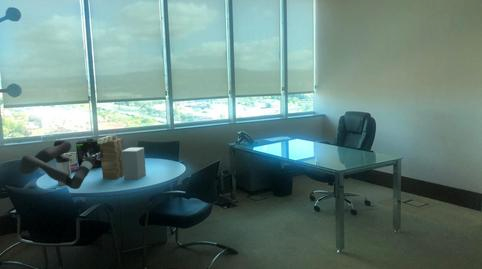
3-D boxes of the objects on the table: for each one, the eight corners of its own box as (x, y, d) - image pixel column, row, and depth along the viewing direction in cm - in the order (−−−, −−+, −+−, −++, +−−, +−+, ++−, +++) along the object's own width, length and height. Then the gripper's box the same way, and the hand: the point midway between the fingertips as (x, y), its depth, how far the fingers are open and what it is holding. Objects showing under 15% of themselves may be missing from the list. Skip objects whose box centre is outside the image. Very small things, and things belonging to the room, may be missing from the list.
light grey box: (138, 179, 295) (136, 150, 292) (124, 179, 297) (121, 150, 294) (145, 174, 309) (143, 147, 306) (132, 174, 311) (129, 147, 308)
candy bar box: (76, 169, 336) (74, 151, 333) (78, 170, 332) (76, 152, 329) (63, 172, 329) (61, 153, 326) (64, 173, 325) (62, 154, 322)
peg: (102, 143, 285) (102, 139, 284) (96, 143, 286) (96, 139, 285) (117, 139, 306) (116, 134, 306) (111, 139, 307) (111, 134, 307)
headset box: (78, 169, 338) (75, 140, 334) (81, 166, 350) (78, 138, 346) (104, 167, 342) (102, 138, 339) (106, 164, 354) (104, 136, 350)
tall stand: (116, 179, 298) (113, 141, 294) (102, 179, 301) (99, 141, 296) (125, 174, 312) (122, 138, 308) (111, 174, 314) (108, 138, 310)
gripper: (94, 161, 265) (104, 146, 278) (75, 161, 268) (86, 146, 280) (98, 169, 270) (107, 153, 282) (79, 169, 272) (89, 153, 285)
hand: (96, 150), depth 281 cm, fingers open, 8 cm apart
